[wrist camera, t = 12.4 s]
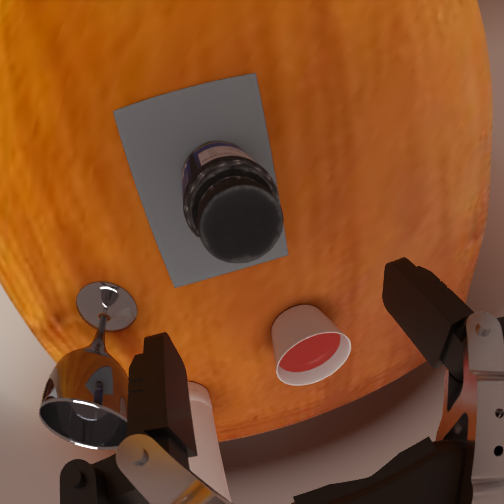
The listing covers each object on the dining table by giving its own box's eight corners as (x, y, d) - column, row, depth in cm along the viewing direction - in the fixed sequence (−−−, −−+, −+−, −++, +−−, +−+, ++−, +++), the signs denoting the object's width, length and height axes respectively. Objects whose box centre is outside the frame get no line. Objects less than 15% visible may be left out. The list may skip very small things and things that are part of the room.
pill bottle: (222, 219, 28) (248, 291, 19) (167, 183, 25) (161, 243, 16) (265, 166, 26) (317, 214, 17) (211, 124, 24) (233, 147, 14)
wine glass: (107, 343, 33) (96, 455, 20) (59, 301, 29) (22, 415, 16) (155, 314, 32) (156, 436, 20) (106, 265, 28) (74, 388, 15)
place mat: (114, 110, 22) (112, 111, 21) (254, 73, 23) (255, 73, 22) (174, 284, 31) (174, 287, 30) (286, 252, 32) (288, 255, 32)
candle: (257, 308, 35) (272, 348, 30) (329, 287, 36) (353, 321, 31) (267, 356, 40) (280, 393, 34) (329, 337, 41) (348, 370, 35)
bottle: (216, 382, 40) (268, 588, 15) (202, 411, 43) (242, 588, 18) (159, 376, 37) (189, 599, 12) (151, 406, 40) (175, 594, 15)
